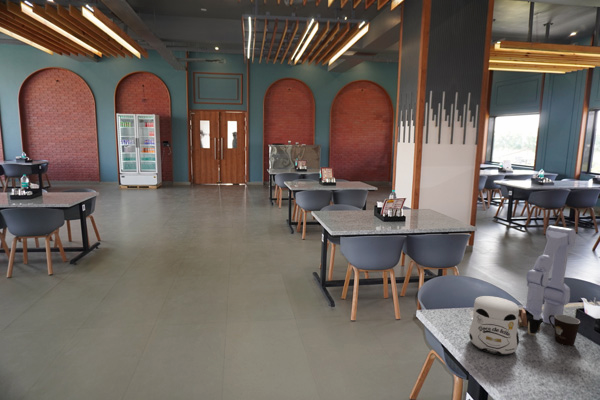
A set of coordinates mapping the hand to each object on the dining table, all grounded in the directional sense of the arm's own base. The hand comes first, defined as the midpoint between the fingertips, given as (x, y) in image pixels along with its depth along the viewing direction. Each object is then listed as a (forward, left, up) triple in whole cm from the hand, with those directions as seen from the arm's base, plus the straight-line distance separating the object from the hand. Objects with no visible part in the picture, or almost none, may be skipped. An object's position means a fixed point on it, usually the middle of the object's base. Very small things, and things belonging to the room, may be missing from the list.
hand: (531, 329), depth 163 cm
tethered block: (-6, 0, -2) cm, 6 cm away
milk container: (+19, -16, -2) cm, 25 cm away
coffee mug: (+1, +11, -2) cm, 11 cm away
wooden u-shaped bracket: (-9, 0, -2) cm, 9 cm away
